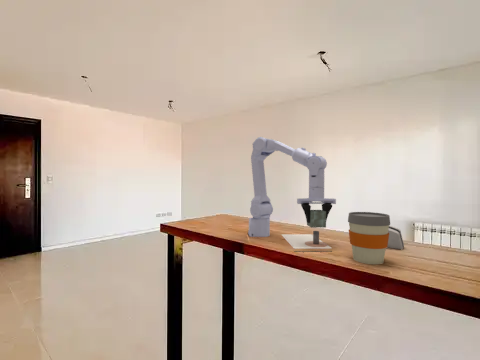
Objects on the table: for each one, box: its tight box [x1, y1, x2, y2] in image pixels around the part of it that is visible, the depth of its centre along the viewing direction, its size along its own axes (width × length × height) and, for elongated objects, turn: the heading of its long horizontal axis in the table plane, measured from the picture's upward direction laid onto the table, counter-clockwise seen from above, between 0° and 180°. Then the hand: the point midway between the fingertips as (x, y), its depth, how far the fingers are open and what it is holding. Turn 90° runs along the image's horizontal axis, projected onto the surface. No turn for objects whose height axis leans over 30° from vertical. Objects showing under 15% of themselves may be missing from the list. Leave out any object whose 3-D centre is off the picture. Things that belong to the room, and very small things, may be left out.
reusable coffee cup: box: [347, 211, 391, 265], centre depth 88 cm, size 13×13×15 cm
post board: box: [280, 230, 333, 253], centre depth 110 cm, size 14×24×6 cm, turn 2°
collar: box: [306, 209, 327, 229], centre depth 104 cm, size 6×6×6 cm
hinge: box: [387, 224, 405, 250], centre depth 108 cm, size 17×5×10 cm, turn 49°
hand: (316, 222), depth 104 cm, fingers closed on collar, 6 cm apart
